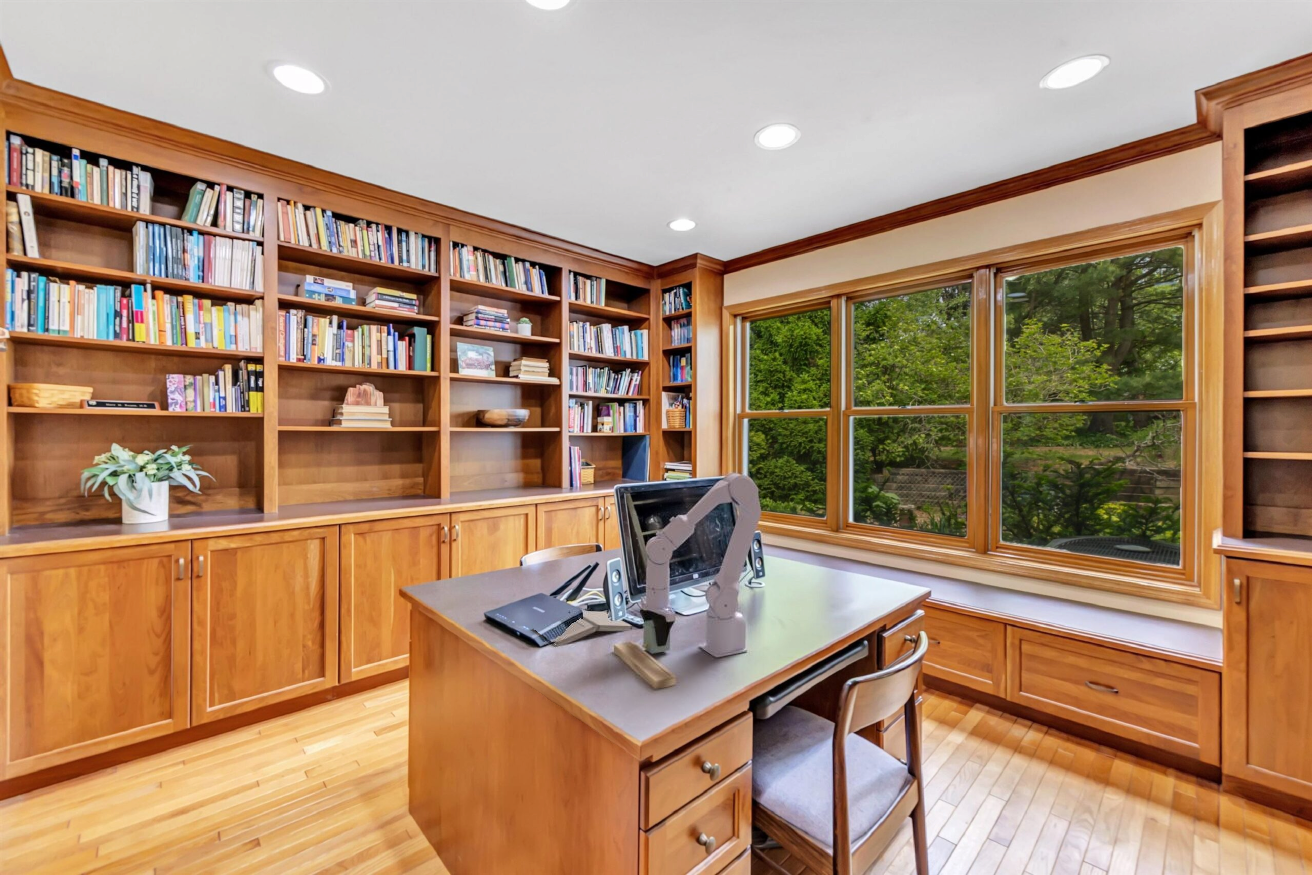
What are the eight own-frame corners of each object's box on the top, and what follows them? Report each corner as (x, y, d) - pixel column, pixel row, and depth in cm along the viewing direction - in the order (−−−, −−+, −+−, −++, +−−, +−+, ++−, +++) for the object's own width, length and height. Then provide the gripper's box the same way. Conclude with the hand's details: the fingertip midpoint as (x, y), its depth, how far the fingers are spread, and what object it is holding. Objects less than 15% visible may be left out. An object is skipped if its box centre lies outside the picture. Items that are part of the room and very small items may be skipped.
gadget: (604, 616, 163) (604, 603, 163) (632, 631, 151) (633, 617, 151) (532, 631, 149) (532, 617, 149) (557, 649, 137) (557, 634, 137)
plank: (632, 648, 137) (632, 640, 137) (675, 684, 118) (675, 676, 117) (613, 651, 135) (614, 644, 135) (654, 689, 115) (655, 680, 115)
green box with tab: (661, 643, 138) (661, 617, 138) (669, 650, 134) (670, 623, 134) (638, 647, 136) (639, 621, 135) (647, 654, 132) (647, 627, 131)
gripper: (630, 581, 140) (629, 634, 140) (656, 596, 127) (655, 655, 127) (655, 578, 143) (654, 630, 143) (683, 592, 130) (682, 650, 130)
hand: (656, 641), depth 135 cm, fingers closed on green box with tab, 4 cm apart
